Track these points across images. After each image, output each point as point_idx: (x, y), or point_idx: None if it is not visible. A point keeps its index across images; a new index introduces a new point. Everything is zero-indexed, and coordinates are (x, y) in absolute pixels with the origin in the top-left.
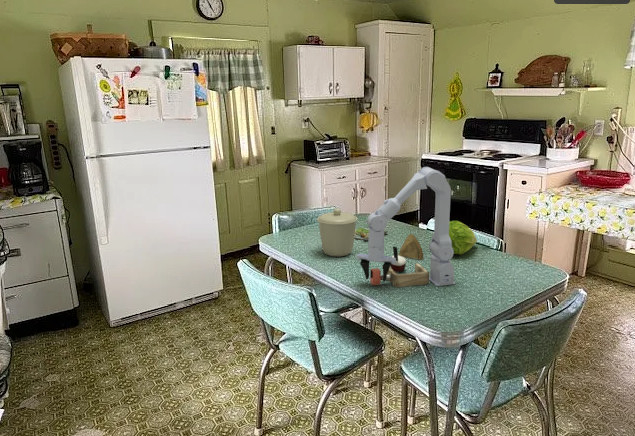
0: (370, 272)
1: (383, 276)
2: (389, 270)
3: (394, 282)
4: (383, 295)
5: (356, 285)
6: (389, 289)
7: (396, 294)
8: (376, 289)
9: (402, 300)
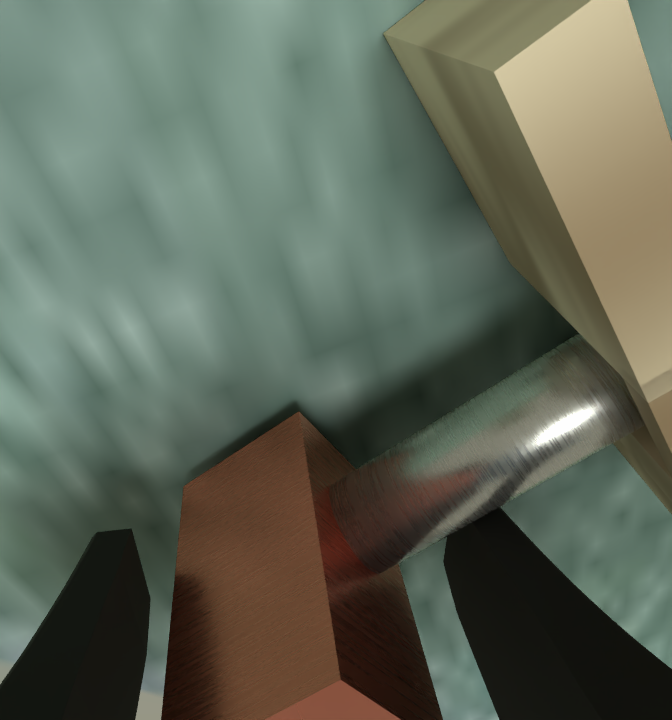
0: (170, 678)
1: (492, 673)
2: (615, 343)
3: (624, 447)
4: (463, 644)
5: (12, 584)
6: (518, 510)
7: (607, 579)
8: None
9: (660, 646)
